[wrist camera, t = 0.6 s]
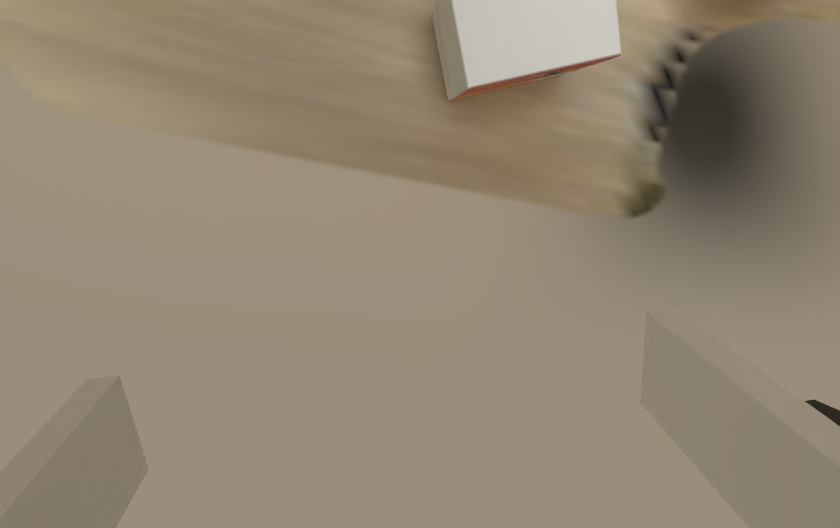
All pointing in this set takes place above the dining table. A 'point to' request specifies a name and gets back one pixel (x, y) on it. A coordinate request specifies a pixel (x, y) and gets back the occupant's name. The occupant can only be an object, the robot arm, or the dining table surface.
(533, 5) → the small box
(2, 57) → the dining table surface
